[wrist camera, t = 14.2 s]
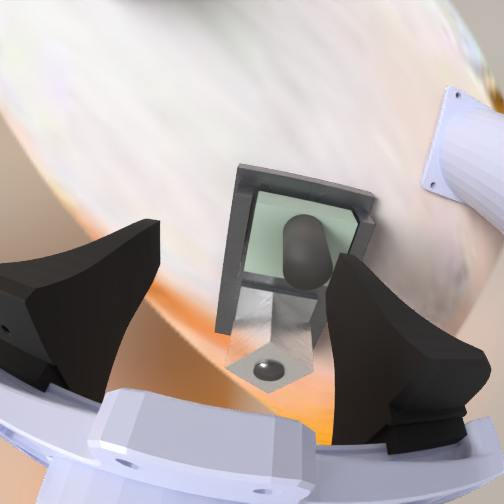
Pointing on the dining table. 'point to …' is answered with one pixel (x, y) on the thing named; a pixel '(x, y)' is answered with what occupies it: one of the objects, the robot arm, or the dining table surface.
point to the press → (240, 224)
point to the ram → (298, 239)
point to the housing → (270, 345)
